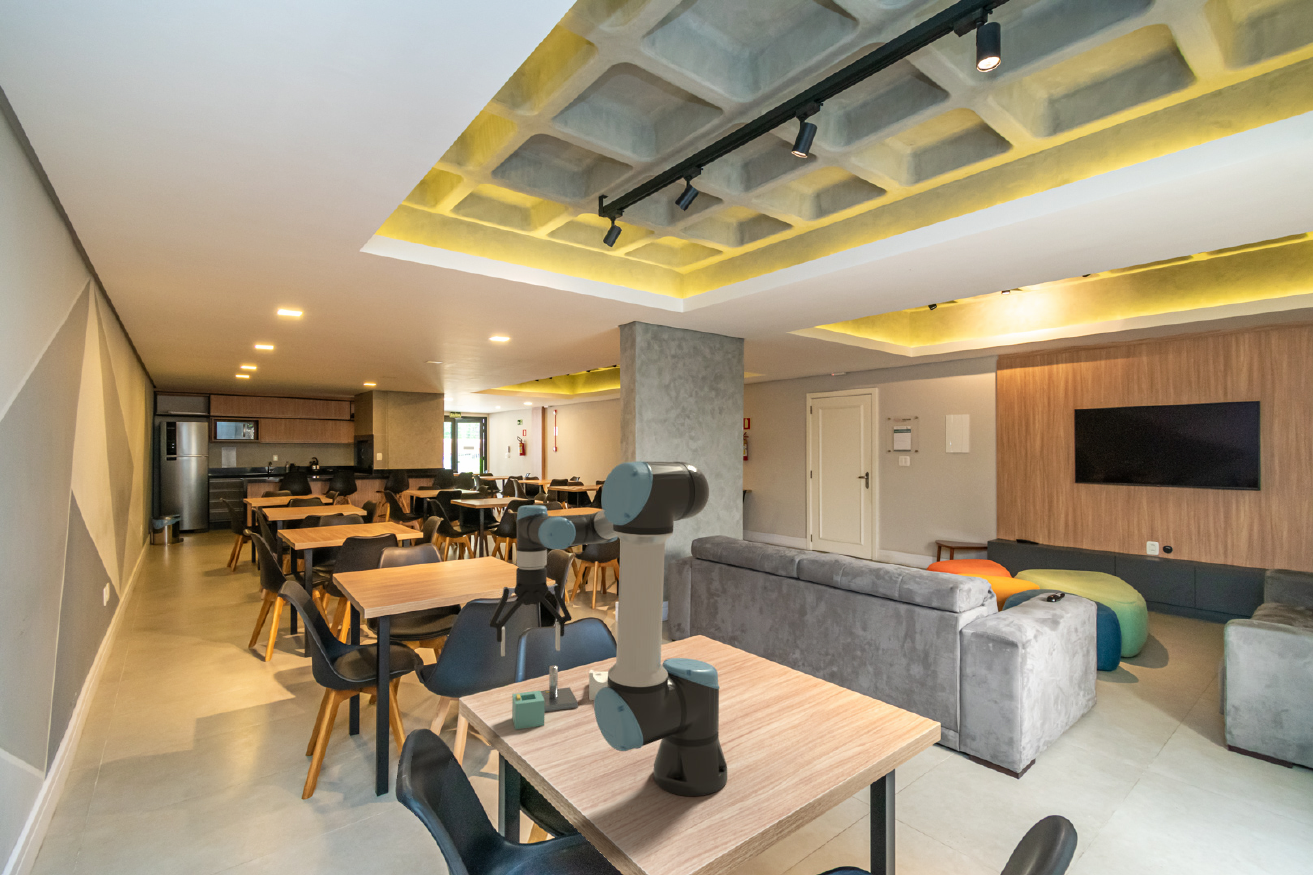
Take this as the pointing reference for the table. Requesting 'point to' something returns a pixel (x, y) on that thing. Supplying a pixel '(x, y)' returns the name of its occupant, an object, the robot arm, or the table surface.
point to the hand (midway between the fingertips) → (530, 652)
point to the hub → (528, 709)
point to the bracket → (596, 682)
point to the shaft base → (560, 701)
